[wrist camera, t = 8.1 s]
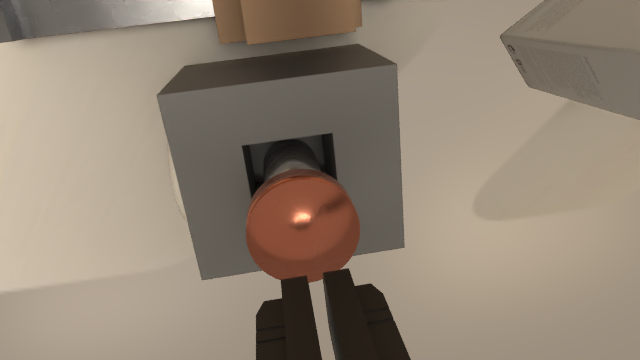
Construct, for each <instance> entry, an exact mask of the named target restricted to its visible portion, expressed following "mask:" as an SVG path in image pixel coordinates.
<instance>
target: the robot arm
mask: <svg viewBox="0 0 640 360" xmlns="http://www.w3.org/2000/svg"><path fill="white" fill-rule="evenodd" d="M322 274H323V284H324V291H325V300H326V308H327V316H328V323H329V330H330V335H331V341H332V345H333V350H334V354H335V359H336V360H411V359H410V357H409V355H408V352H407V350H406V348H405V345H404V343H403V340H402V338H401V335H400V333H399V331H398V328H397V326H396V323H395V321H394V320H393V317H392V314H391V312H390V310H389V307H388V304H387V302H386V300H385V297H384V295H383V293H382V292H380V291H379V290H378V289H376V287H374V286H373V285H372V284H365V285H359V286H354V283H353V280H352V277H351V274H350V271H349V269H342V270H335V271H329V272H323V273H322ZM281 288H282V298H281V299H275V300H269V301H264V302H263V304H262V306H261V308H260V309H259V311H258V313H257V315H256V360H322V357H321V351H320V346H319V340H318V335H317V329H316V323H315V318H314V312H313V307H312V301H311V295H310V290H309V284H308V278H307V275H305V276H299V277H293V278H287V279H281Z"/></svg>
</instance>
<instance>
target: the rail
mask: <svg viewBox="0 0 640 360" xmlns="http://www.w3.org/2000/svg"><path fill="white" fill-rule="evenodd" d="M212 16H215V14H214V9H213V3H212V0H0V43H3V42H11V41H16V40H21V39H27V38H36V37H44V36H53V35H61V34H70V33H78V32H86V31H95V30H103V29H112V28H120V27H128V26H137V25H145V24H154V23H162V22H170V21H179V20H187V19H196V18H204V17H212Z"/></svg>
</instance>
